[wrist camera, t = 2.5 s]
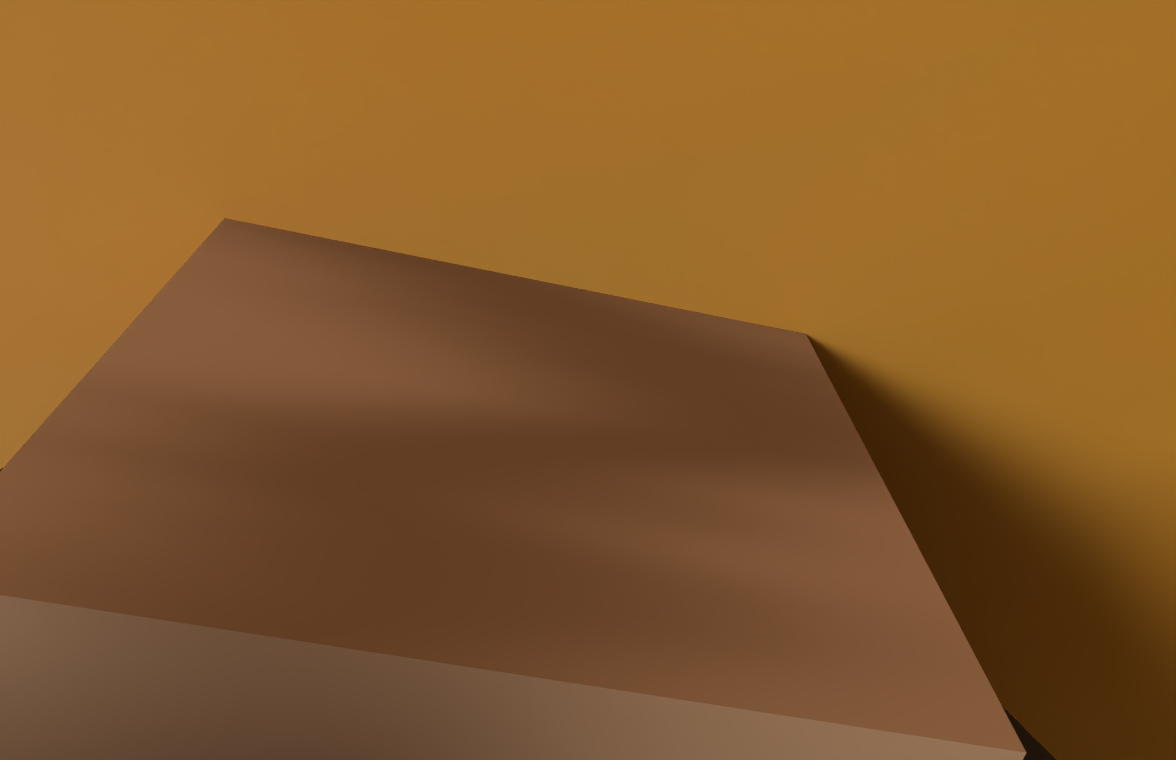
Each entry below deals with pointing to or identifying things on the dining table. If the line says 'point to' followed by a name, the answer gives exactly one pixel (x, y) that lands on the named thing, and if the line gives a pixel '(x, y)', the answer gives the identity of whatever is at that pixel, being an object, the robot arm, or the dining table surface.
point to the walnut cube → (462, 534)
